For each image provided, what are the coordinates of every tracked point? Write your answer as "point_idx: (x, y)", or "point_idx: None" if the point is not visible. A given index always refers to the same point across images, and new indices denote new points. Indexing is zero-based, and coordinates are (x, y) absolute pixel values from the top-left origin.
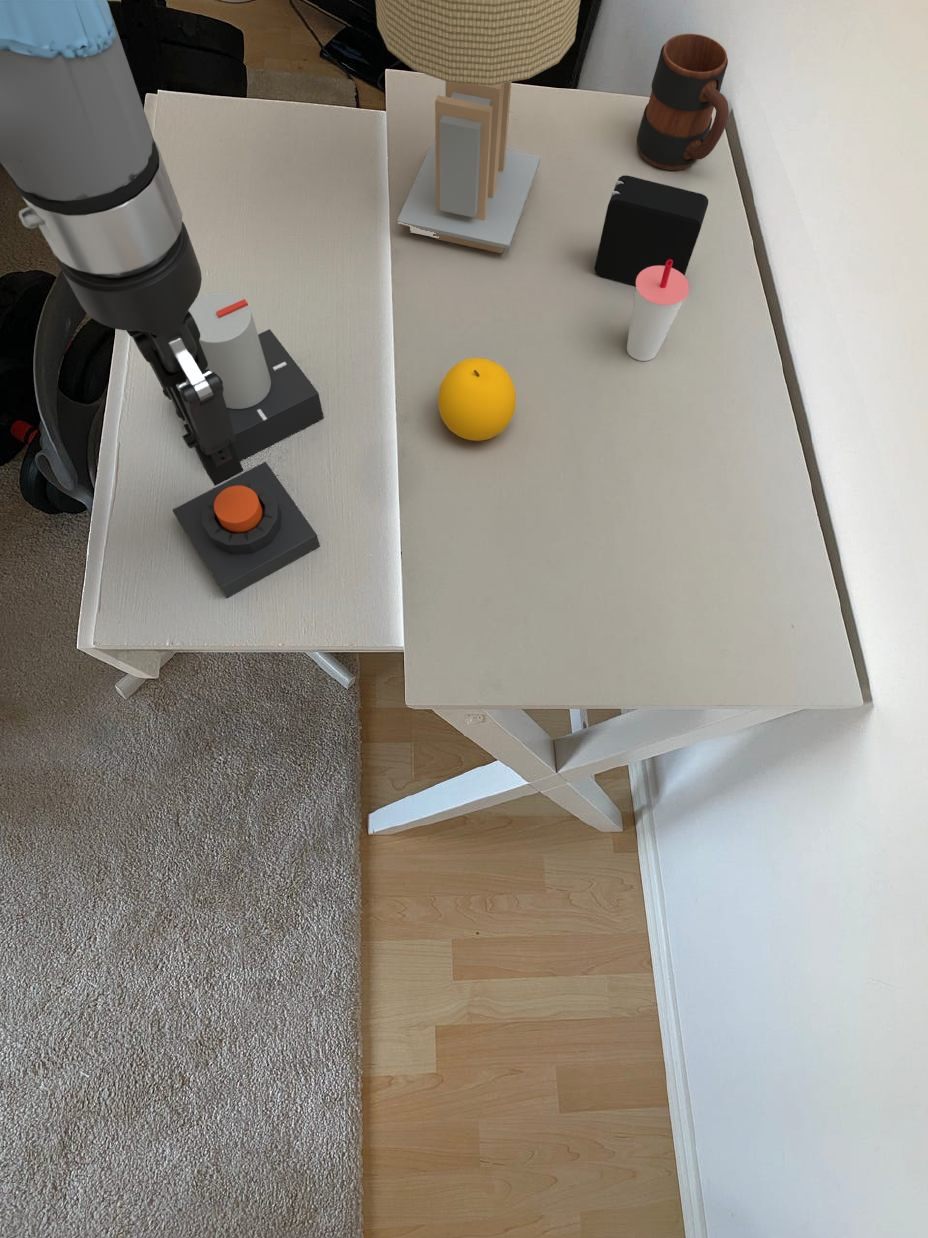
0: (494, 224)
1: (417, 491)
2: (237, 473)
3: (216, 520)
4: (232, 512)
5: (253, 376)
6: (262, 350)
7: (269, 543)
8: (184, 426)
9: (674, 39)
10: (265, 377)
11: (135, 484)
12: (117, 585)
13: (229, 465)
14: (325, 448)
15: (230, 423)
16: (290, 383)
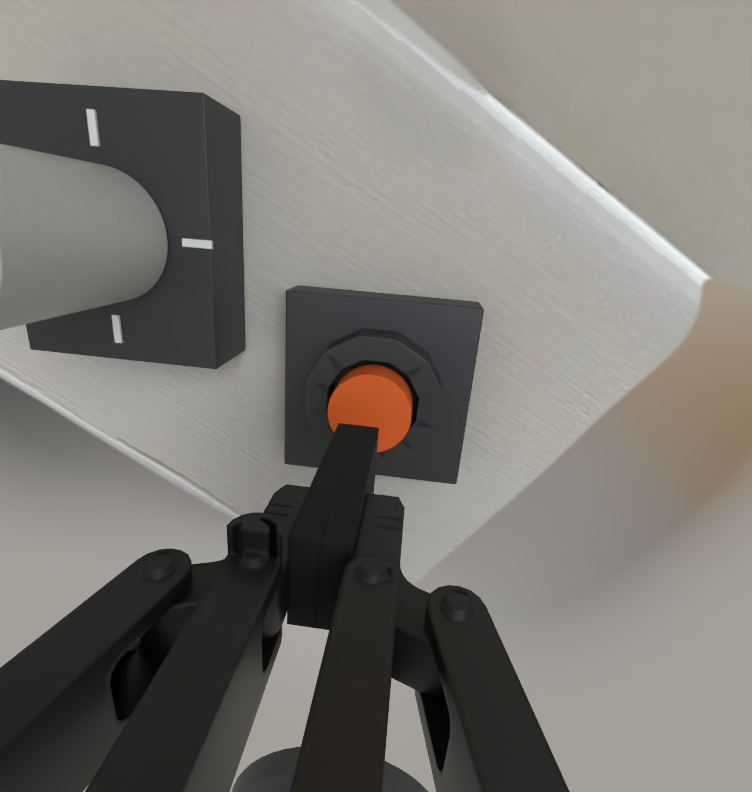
0: None
1: (514, 53)
2: (377, 442)
3: None
4: (381, 430)
5: (116, 223)
6: (35, 135)
7: (442, 385)
8: (292, 623)
9: None
10: (120, 188)
11: (199, 459)
12: None
13: (372, 470)
14: (305, 160)
15: (550, 753)
16: (149, 136)
